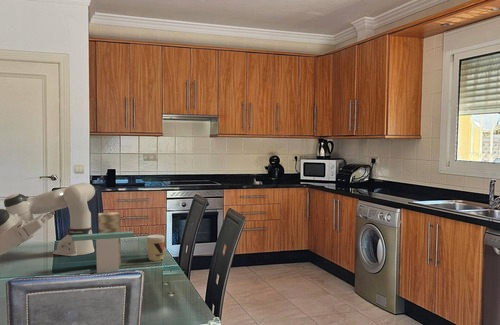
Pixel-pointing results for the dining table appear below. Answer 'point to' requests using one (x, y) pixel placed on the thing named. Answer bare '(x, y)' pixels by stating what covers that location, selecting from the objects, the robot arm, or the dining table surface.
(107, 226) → the birch stand
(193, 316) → the dining table surface
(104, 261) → the grey slot box
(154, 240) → the coffee cup
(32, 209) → the robot arm
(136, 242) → the dining table surface
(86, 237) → the teal board
